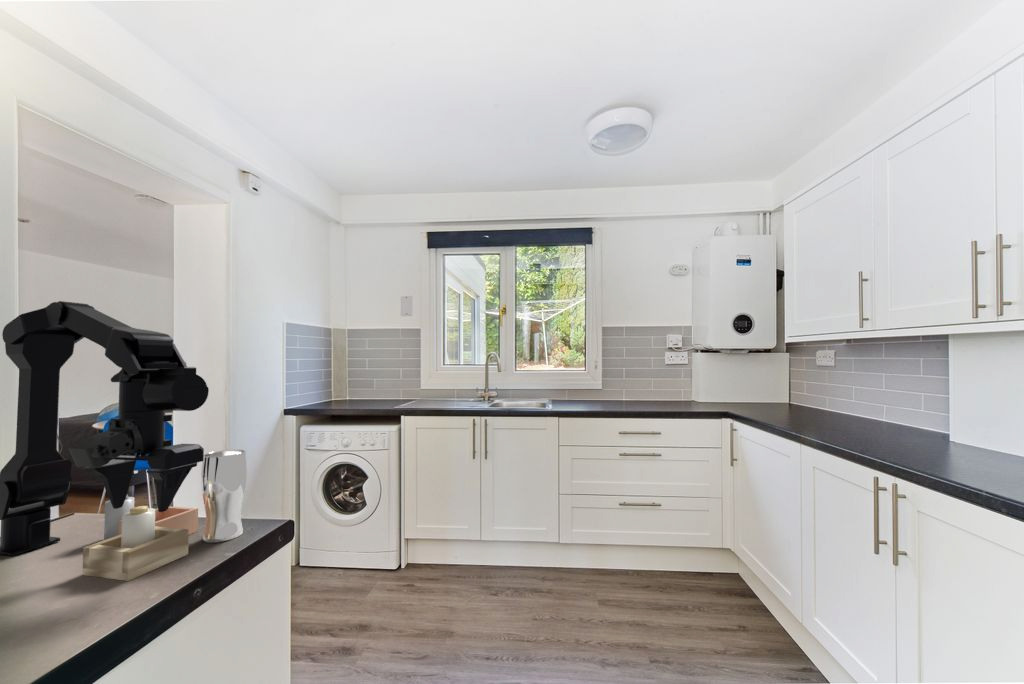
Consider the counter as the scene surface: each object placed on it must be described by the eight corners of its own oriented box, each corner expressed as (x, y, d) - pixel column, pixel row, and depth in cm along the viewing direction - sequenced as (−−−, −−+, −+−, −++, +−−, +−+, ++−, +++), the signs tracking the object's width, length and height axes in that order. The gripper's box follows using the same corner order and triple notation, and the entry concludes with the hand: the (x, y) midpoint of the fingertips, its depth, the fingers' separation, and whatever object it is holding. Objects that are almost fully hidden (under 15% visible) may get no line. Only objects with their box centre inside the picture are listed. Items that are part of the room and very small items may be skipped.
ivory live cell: (113, 561, 67) (115, 511, 67) (141, 550, 71) (142, 503, 71) (133, 563, 66) (135, 513, 66) (160, 552, 70) (161, 504, 70)
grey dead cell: (97, 541, 77) (99, 498, 78) (122, 533, 81) (123, 492, 82) (114, 543, 76) (116, 500, 77) (139, 534, 80) (140, 493, 81)
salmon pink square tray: (118, 545, 76) (118, 520, 76) (164, 528, 83) (165, 505, 84) (153, 548, 74) (154, 523, 74) (197, 531, 82) (198, 508, 82)
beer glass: (223, 545, 75) (224, 457, 76) (189, 542, 76) (191, 456, 77) (254, 530, 82) (255, 449, 82) (223, 527, 83) (224, 448, 84)
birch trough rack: (82, 574, 65) (83, 547, 65) (145, 549, 74) (146, 525, 74) (128, 580, 63) (129, 552, 63) (188, 554, 71) (188, 529, 72)
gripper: (35, 415, 64) (31, 524, 63) (132, 417, 59) (129, 533, 58) (119, 408, 74) (117, 500, 74) (207, 408, 70) (205, 506, 69)
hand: (140, 509), depth 68 cm, fingers open, 9 cm apart
